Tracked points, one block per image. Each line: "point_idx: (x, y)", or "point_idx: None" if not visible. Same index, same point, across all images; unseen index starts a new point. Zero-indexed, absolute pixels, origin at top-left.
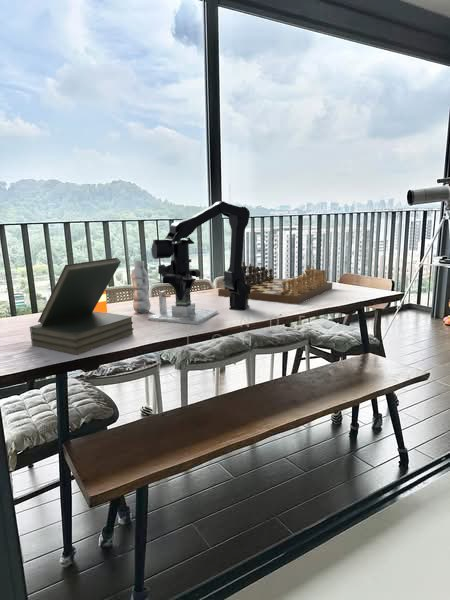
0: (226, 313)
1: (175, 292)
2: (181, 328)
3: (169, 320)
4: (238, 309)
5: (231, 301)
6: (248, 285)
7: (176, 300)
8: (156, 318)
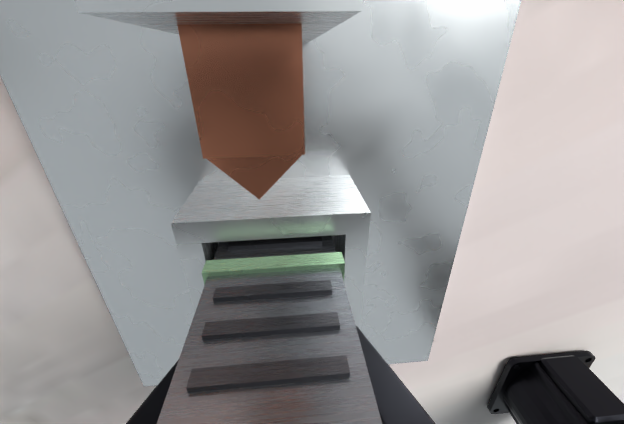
0: (415, 377)
1: (166, 400)
2: (28, 349)
3: (79, 230)
4: (494, 391)
5: (557, 398)
6: None
7: (205, 298)
8: (18, 108)
